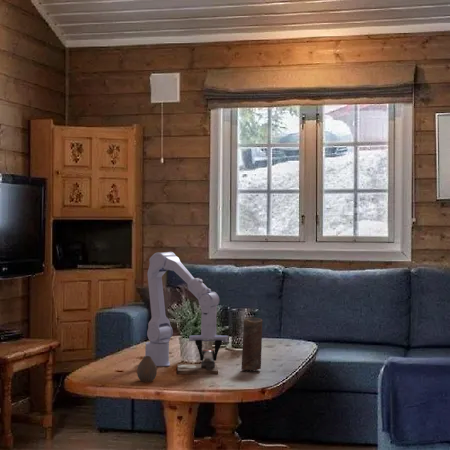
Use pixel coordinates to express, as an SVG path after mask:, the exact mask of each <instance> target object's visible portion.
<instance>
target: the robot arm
mask: <svg viewBox="0 0 450 450" xmlns="http://www.w3.org/2000/svg"><path fill="white" fill-rule="evenodd" d="M168 271H173V272H174V273H175V274H176V275H177V276H179V277H180V279H182V280H183V281H184V282H185V283H186V284H187V289H188V290H189V292H190V293H191V294H192V295H193V296H194V297H195V298H196V299H197V300H198V304H199V306H200V311H201V319H200V320H201V322H200V323H201V326H200V327H201V328H200V329H201V330H200V334H194V335H189V336H188V337H189V338H188V341H189V342H195V345H196V347H197V350H198V353H199V360H200V361H201V362H202V350H203V342H214V362H215V361H217V359H218V358H217V357H218V354H219V350H220V348H221V346H222V345H223V344H222V343H223V342H229V335H221V334H220V335H218V334H217V309H218V305H219V304H220V296H219V295H218V293H217V292H215V291H212V289H211V288H209V287H207V285H206V284H205V283H203V282H204V280H203V279H202V278H199V277H194V276H193V275H192V273H191V272H190V271H189V270H188V269H187V267H186V266H185V265H184V264H183V263H182V262H181V260H180V257H178V256H177V255H176V254H175V253H174V252H173V251H165V252H155V253H154V254H152V255H151V256H150V257H149V267H148V270H147V283H148V284H147V286H148V293H149V303H150V305H149V306H150V313H151V315H150V316H151V318H150V320H149V322H148V325H147V326H148V327H147V332H146V336H147V338H148V340H149V341H147V342H145V346H144V347H145V350H144V351H145V352H144V356H150V357H151V359H152V360H153V362H154V363H155V365H156V367H170V366H171V361H170V339H171V338H172V337H173V334H174V330H173V327H172V326H171V322H170V319H169V318H168V317H167V315H166V307H165V305H166V304H165V297H164V285H163V276H164V274H166V272H168Z"/></svg>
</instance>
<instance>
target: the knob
mask: <svg viewBox="0 0 450 450" xmlns="http://www.w3.org/2000/svg"><path fill="white" fill-rule="evenodd" d="M214 353H215V349H202V361H201V362H202V363H214V362H215V361H214Z"/></svg>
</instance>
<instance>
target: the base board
mask: <svg viewBox="0 0 450 450" xmlns="http://www.w3.org/2000/svg"><path fill="white" fill-rule="evenodd" d="M177 375H219V369H218V365H217V364H216V362H215V361H214V363H202V361H201V362H200V363H196V364H195V363H193V364H192V363H177Z"/></svg>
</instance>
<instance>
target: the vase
mask: <svg viewBox="0 0 450 450" xmlns="http://www.w3.org/2000/svg"><path fill="white" fill-rule="evenodd" d="M157 371H158V369H157V366H156V365H155V363H154V362H153V360H152V359H151V357H150V356H145V355H144V356H143V358H142V359H141V361H140V362H139V363H138V365H137V369H136V373H137V374H136V375H137V378H138V379H139V381H140V382H142V383H151V382H153V381H155V379H156V377H157Z"/></svg>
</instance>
